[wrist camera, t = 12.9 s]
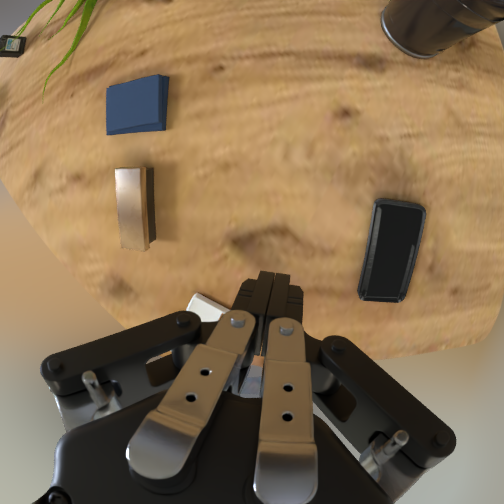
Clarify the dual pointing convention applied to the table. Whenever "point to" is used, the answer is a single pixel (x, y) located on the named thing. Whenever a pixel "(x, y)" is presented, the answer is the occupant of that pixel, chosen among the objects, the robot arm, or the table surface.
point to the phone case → (206, 308)
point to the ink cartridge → (12, 46)
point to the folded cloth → (137, 105)
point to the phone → (391, 250)
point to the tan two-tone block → (135, 207)
